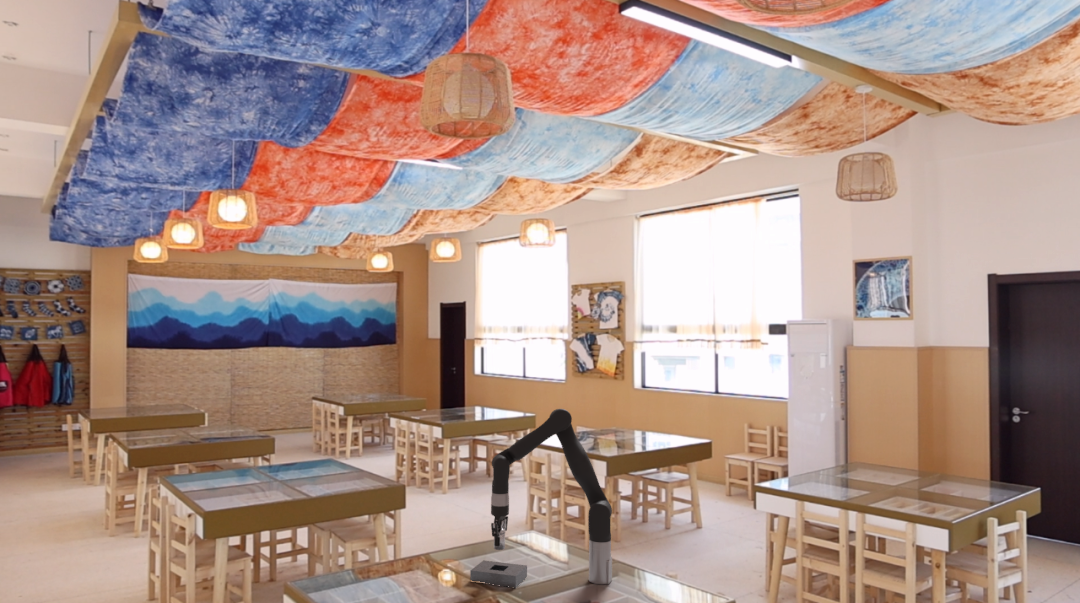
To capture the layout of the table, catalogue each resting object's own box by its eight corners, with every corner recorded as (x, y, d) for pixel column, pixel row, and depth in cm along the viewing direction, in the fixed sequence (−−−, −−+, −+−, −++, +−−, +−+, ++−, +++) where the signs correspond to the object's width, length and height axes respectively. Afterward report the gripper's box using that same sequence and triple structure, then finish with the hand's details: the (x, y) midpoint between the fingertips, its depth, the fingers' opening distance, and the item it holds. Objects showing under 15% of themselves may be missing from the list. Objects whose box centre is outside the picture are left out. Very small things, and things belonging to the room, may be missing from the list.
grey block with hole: (526, 577, 317) (527, 565, 317) (515, 588, 304) (515, 575, 304) (483, 571, 323) (483, 560, 323) (470, 582, 310) (470, 570, 310)
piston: (506, 547, 315) (506, 528, 316) (502, 550, 311) (502, 531, 311) (496, 546, 317) (496, 527, 317) (491, 549, 312) (492, 529, 312)
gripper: (502, 508, 306) (501, 550, 306) (514, 500, 320) (513, 540, 319) (485, 506, 309) (484, 548, 308) (498, 498, 322) (497, 538, 322)
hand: (499, 544), depth 314 cm, fingers closed on piston, 4 cm apart
